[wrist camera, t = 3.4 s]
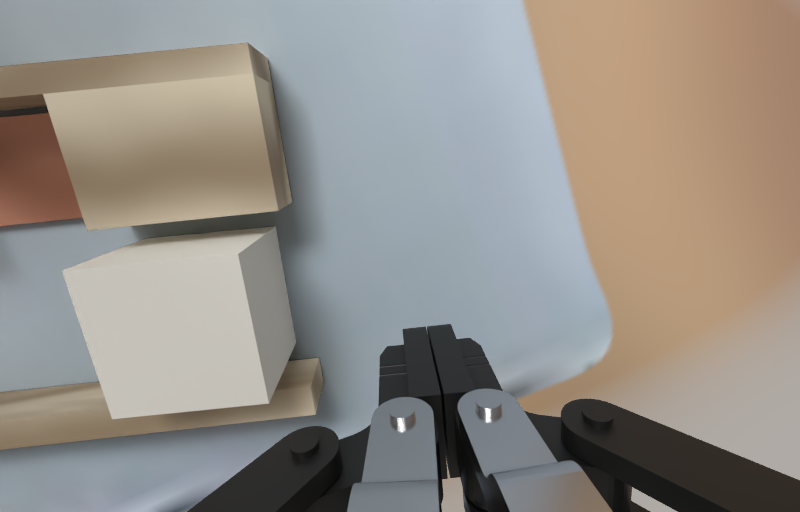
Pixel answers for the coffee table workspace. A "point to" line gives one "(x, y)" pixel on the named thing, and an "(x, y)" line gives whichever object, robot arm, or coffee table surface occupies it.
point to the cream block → (186, 321)
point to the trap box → (141, 192)
